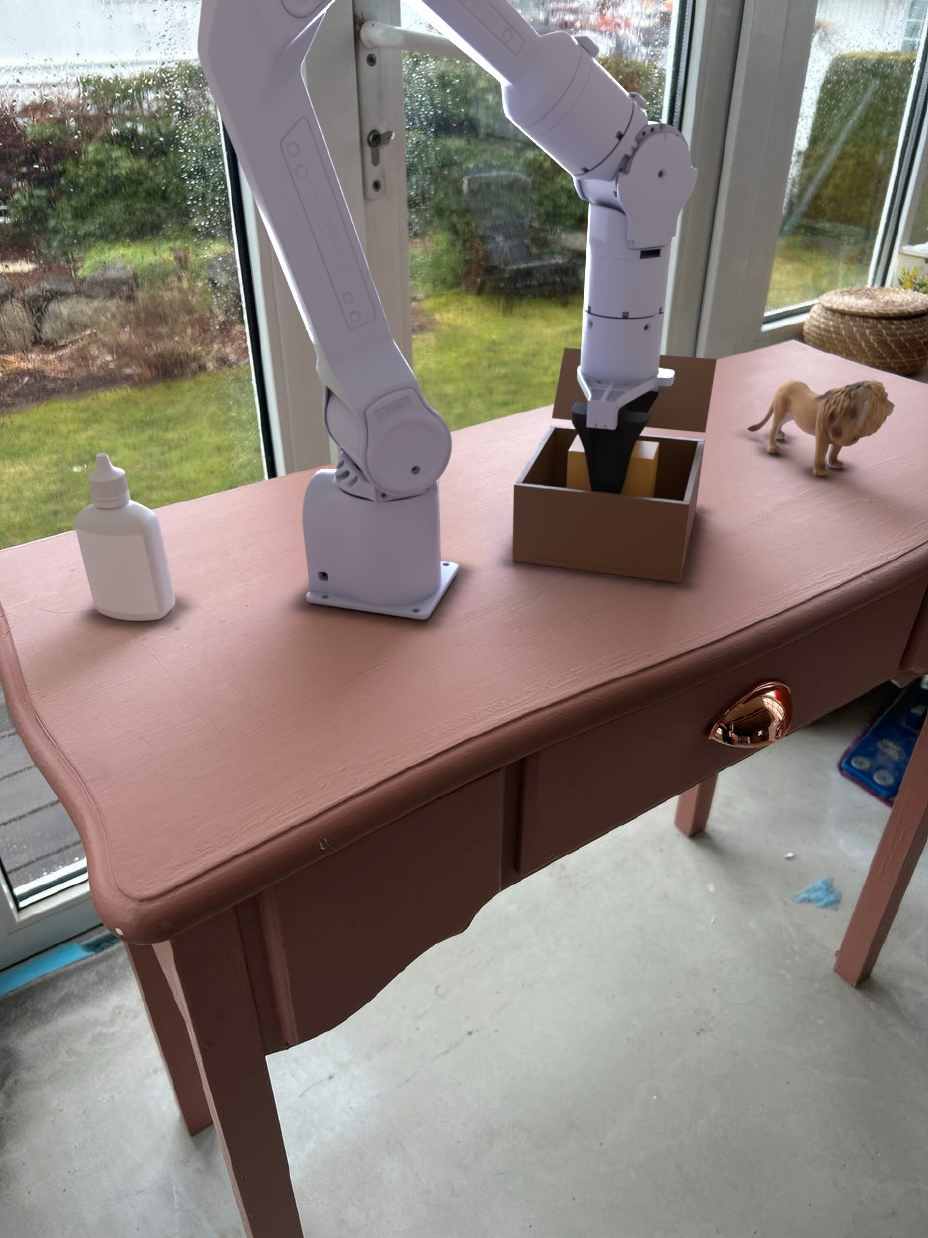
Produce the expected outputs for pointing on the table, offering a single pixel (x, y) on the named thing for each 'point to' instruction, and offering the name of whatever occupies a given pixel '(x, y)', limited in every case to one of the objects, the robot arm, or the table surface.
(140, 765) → the table surface
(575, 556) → the bread box
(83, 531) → the eye dropper bottle
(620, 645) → the table surface
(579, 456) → the beige block
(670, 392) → the flap
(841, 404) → the lion figurine
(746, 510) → the table surface
